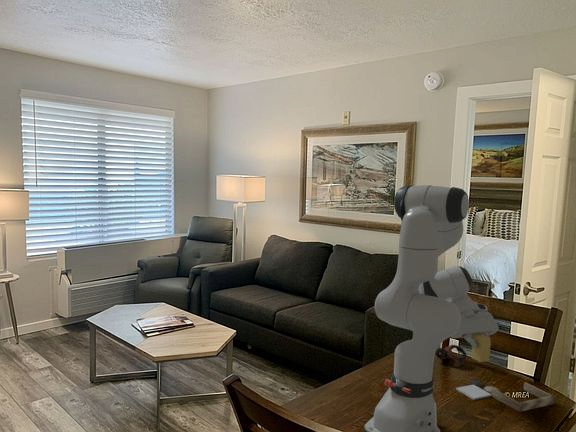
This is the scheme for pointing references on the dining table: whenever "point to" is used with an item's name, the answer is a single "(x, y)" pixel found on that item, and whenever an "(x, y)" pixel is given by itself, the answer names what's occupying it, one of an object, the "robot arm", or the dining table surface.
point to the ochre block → (481, 348)
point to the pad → (473, 392)
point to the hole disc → (477, 383)
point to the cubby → (526, 405)
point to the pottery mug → (451, 354)
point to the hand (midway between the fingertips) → (482, 346)
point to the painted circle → (490, 389)
